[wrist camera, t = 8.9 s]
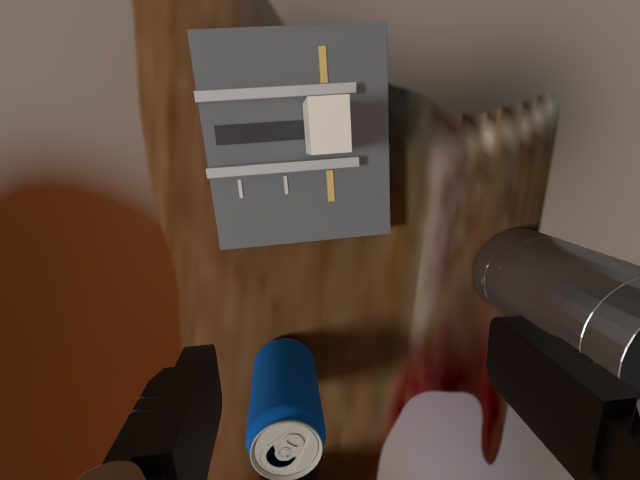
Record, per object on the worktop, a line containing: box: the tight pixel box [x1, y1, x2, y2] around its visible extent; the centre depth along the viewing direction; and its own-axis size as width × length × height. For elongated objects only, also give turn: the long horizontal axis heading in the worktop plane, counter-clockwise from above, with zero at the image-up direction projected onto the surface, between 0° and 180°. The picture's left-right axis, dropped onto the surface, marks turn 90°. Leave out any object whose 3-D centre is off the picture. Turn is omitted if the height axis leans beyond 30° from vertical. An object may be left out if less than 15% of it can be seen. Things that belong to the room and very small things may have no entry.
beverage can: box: [246, 338, 326, 480], centre depth 33 cm, size 6×6×12 cm
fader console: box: [187, 22, 390, 250], centre depth 31 cm, size 16×18×3 cm
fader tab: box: [302, 94, 352, 155], centre depth 28 cm, size 3×4×5 cm
